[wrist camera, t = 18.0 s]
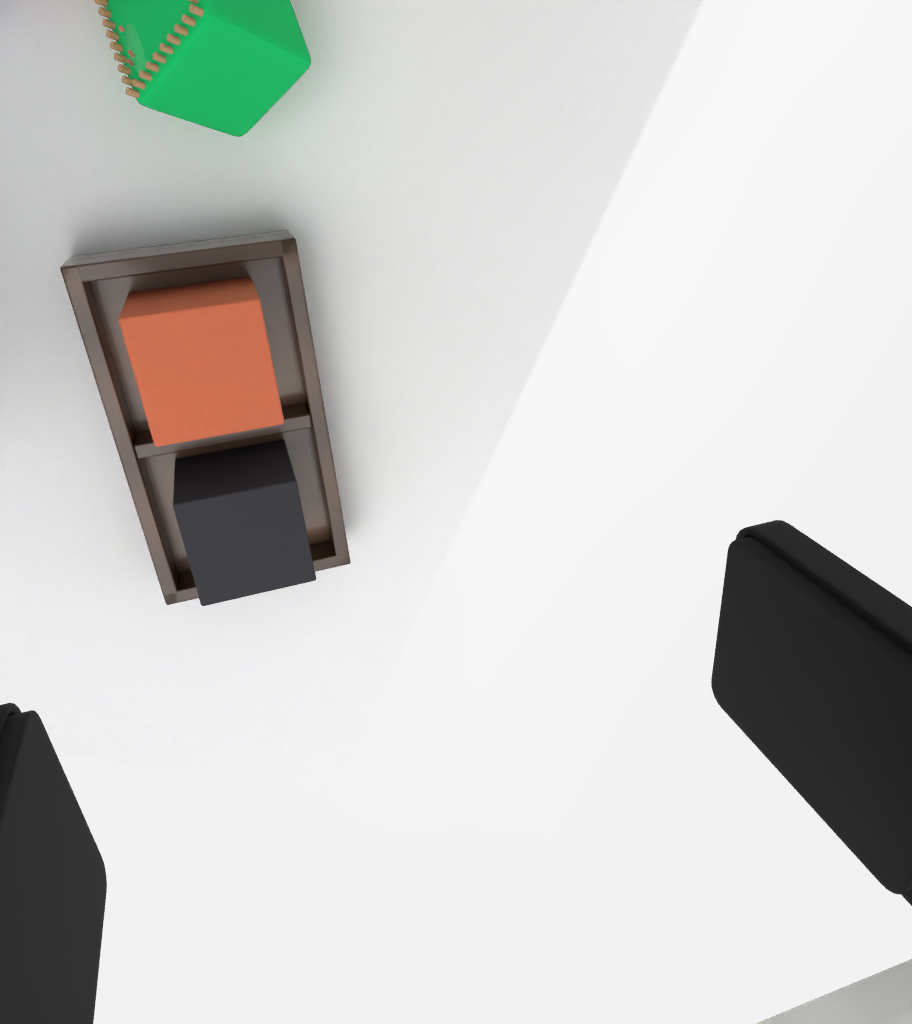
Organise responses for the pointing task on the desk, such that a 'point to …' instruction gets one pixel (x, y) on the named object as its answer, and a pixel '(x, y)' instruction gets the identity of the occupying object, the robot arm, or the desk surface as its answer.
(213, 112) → the building blocks
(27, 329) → the desk surface
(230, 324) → the orange cube
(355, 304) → the desk surface
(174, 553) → the divided wooden tray
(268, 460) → the charcoal cube
